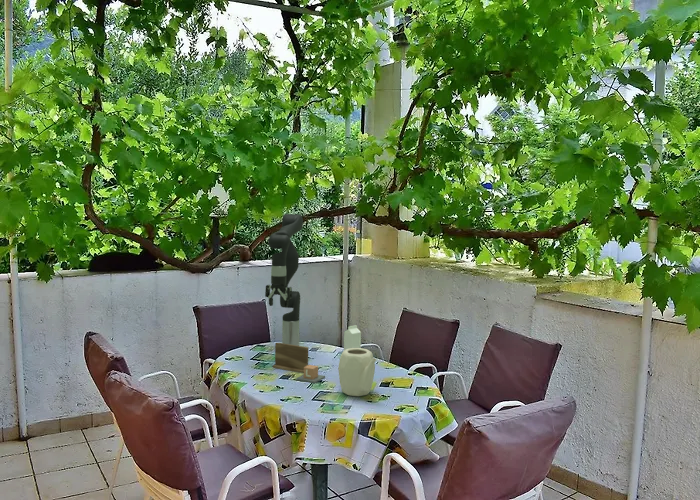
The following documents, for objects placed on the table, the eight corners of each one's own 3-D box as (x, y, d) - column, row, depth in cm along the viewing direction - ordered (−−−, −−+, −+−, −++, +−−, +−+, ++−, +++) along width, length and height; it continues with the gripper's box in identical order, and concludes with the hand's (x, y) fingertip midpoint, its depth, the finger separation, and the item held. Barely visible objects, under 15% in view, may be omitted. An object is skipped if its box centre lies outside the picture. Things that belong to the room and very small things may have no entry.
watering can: (358, 406, 244) (359, 361, 243) (327, 387, 267) (328, 346, 265) (389, 400, 252) (391, 356, 251) (356, 382, 275) (357, 342, 273)
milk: (360, 369, 296) (361, 325, 294) (351, 371, 292) (352, 327, 290) (351, 366, 300) (353, 323, 298) (342, 368, 296) (344, 325, 294)
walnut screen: (279, 364, 300) (279, 341, 299) (310, 370, 293) (310, 346, 291) (272, 367, 295) (272, 344, 294) (304, 373, 287) (304, 348, 286)
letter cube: (308, 374, 282) (309, 364, 282) (318, 376, 280) (318, 366, 279) (303, 377, 277) (303, 367, 277) (312, 379, 275) (312, 369, 275)
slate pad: (306, 374, 285) (306, 372, 285) (325, 377, 281) (325, 375, 281) (296, 380, 276) (296, 378, 276) (314, 383, 272) (314, 381, 272)
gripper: (294, 274, 297) (294, 306, 298) (270, 272, 302) (270, 303, 304) (287, 276, 290) (286, 309, 291) (262, 274, 296) (262, 306, 297)
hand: (278, 306), depth 298 cm, fingers open, 8 cm apart
